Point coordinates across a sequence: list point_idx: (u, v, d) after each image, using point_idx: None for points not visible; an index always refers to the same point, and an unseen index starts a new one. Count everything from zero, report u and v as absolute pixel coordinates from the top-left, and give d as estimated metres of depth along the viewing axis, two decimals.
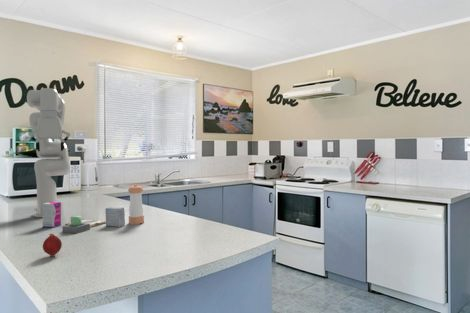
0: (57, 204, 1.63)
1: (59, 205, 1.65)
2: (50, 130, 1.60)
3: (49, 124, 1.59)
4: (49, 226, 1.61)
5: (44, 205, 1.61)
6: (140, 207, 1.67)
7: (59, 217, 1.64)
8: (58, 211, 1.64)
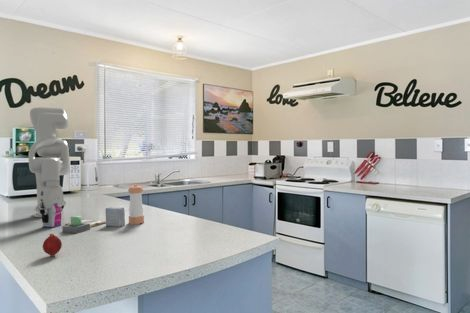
0: None
1: None
2: None
3: None
4: (49, 226, 1.61)
5: None
6: (140, 207, 1.67)
7: (59, 217, 1.64)
8: (58, 211, 1.64)
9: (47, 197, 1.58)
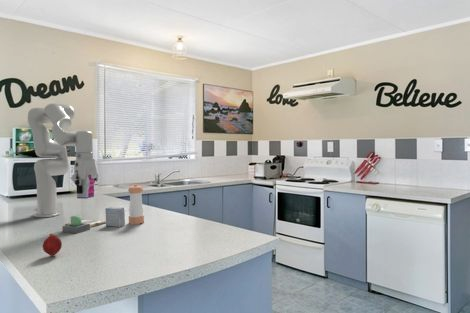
0: None
1: None
2: None
3: None
4: (83, 197, 1.64)
5: None
6: (140, 207, 1.67)
7: (92, 189, 1.68)
8: (92, 183, 1.68)
9: (82, 168, 1.62)
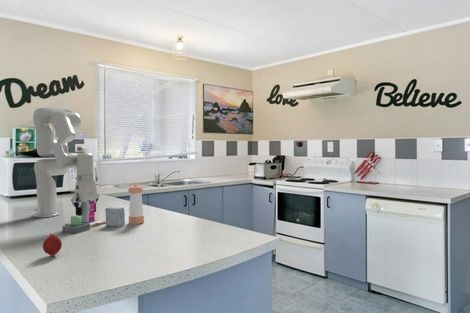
0: None
1: (93, 201, 1.69)
2: None
3: None
4: (84, 222, 1.65)
5: None
6: (140, 207, 1.67)
7: (93, 213, 1.69)
8: (92, 207, 1.68)
9: (82, 191, 1.63)
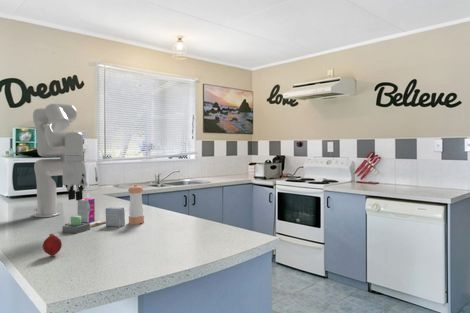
0: (91, 200, 1.67)
1: (93, 201, 1.69)
2: None
3: None
4: (84, 222, 1.65)
5: (79, 201, 1.65)
6: (140, 207, 1.67)
7: (93, 213, 1.69)
8: (92, 207, 1.68)
9: (63, 172, 1.53)
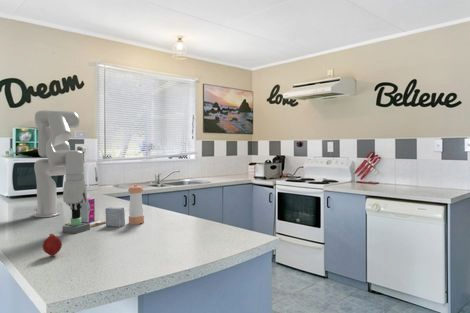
0: (91, 200, 1.67)
1: (93, 201, 1.69)
2: None
3: None
4: (84, 222, 1.65)
5: None
6: (140, 207, 1.67)
7: (93, 213, 1.69)
8: (92, 207, 1.68)
9: (64, 190, 1.53)
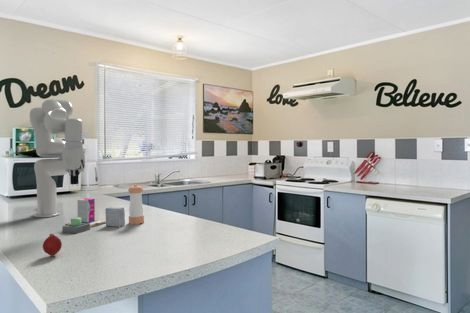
0: (91, 200, 1.67)
1: (93, 201, 1.69)
2: None
3: None
4: (84, 222, 1.65)
5: (79, 201, 1.65)
6: (140, 207, 1.67)
7: (93, 213, 1.69)
8: (92, 207, 1.68)
9: (63, 157, 1.59)
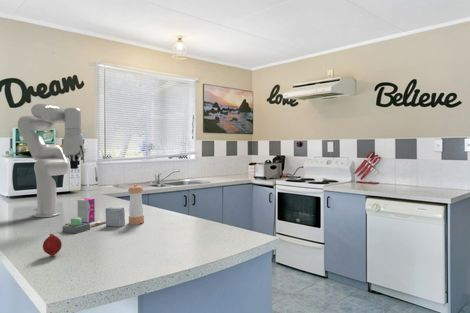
0: (91, 200, 1.67)
1: (93, 201, 1.69)
2: None
3: None
4: (84, 222, 1.65)
5: (79, 201, 1.65)
6: (140, 207, 1.67)
7: (93, 213, 1.69)
8: (92, 207, 1.68)
9: (63, 144, 1.72)
